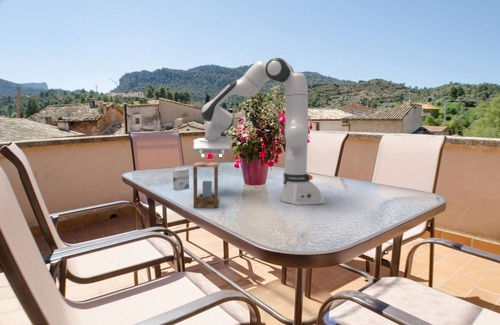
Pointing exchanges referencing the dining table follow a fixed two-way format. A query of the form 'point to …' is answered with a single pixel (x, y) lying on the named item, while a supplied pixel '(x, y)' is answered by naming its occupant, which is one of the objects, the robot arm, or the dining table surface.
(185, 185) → the ink box
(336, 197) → the dining table surface
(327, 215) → the dining table surface
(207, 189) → the peg
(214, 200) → the wooden frame stand
